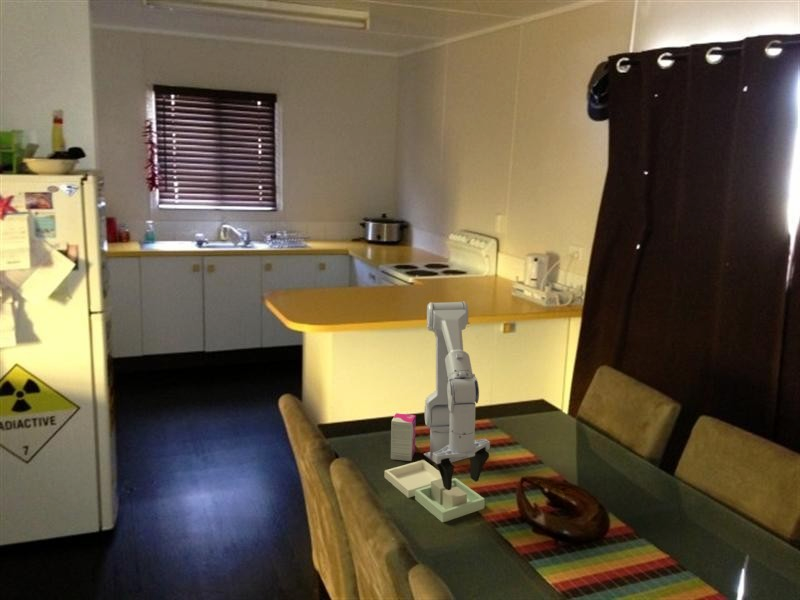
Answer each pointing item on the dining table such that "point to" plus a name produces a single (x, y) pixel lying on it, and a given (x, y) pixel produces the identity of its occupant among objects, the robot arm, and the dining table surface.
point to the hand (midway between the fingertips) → (461, 483)
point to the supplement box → (403, 437)
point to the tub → (443, 515)
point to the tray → (412, 476)
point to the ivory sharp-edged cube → (453, 497)
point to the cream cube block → (438, 490)
